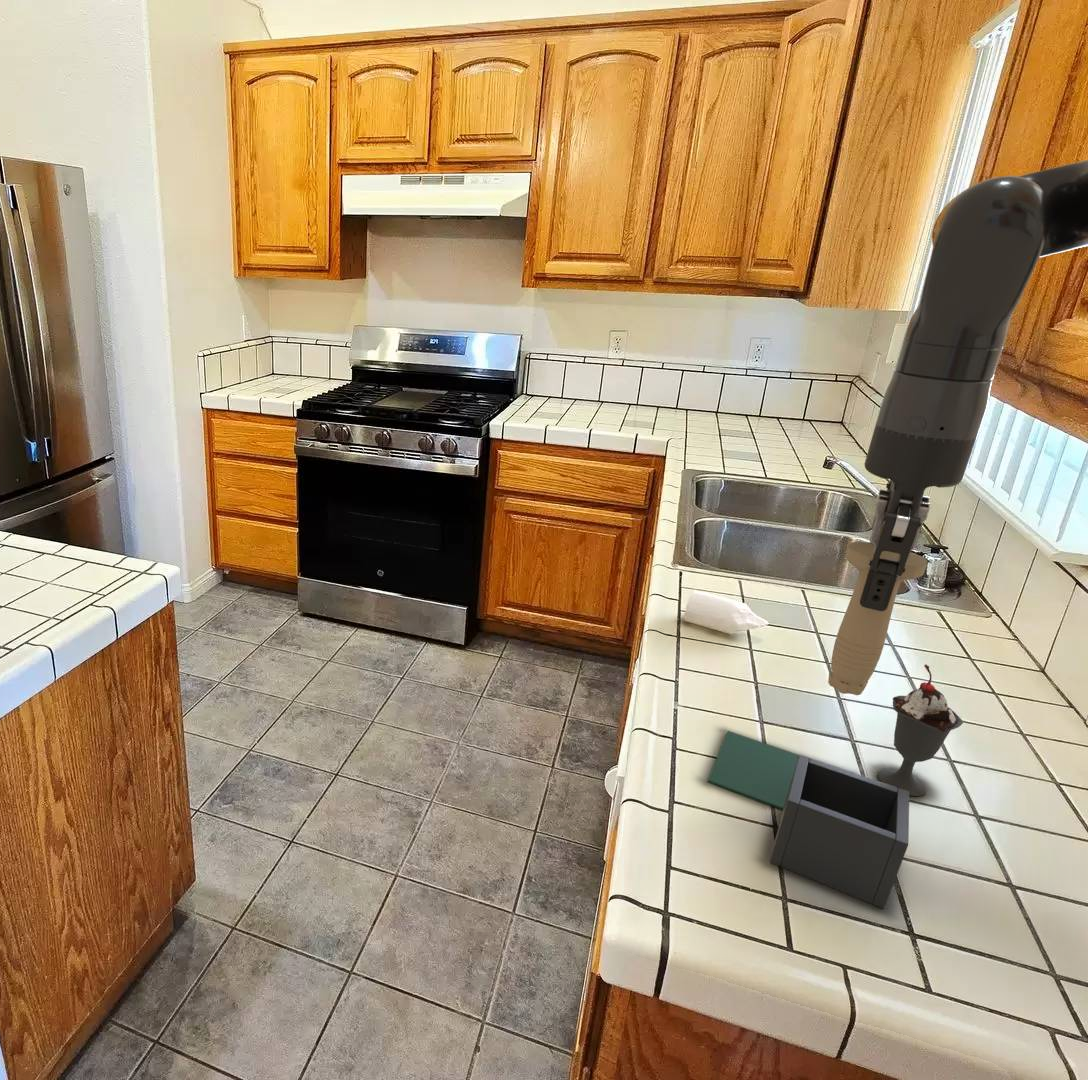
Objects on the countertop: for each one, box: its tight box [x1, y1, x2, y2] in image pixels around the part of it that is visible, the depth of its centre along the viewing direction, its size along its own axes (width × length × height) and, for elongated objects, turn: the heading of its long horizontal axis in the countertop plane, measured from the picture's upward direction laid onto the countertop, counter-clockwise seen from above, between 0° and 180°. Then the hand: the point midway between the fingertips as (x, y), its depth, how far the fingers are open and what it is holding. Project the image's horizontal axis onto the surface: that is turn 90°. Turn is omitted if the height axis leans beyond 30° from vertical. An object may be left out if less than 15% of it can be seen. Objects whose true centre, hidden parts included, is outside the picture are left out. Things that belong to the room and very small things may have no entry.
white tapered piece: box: [683, 590, 769, 635], centre depth 123 cm, size 6×12×6 cm, turn 51°
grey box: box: [769, 753, 910, 910], centre depth 77 cm, size 10×9×8 cm
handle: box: [827, 540, 929, 696], centre depth 74 cm, size 5×6×15 cm
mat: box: [707, 730, 799, 811], centre depth 90 cm, size 14×12×1 cm
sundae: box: [877, 663, 964, 797], centre depth 87 cm, size 7×7×15 cm
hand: (873, 596), depth 73 cm, fingers closed on handle, 5 cm apart
